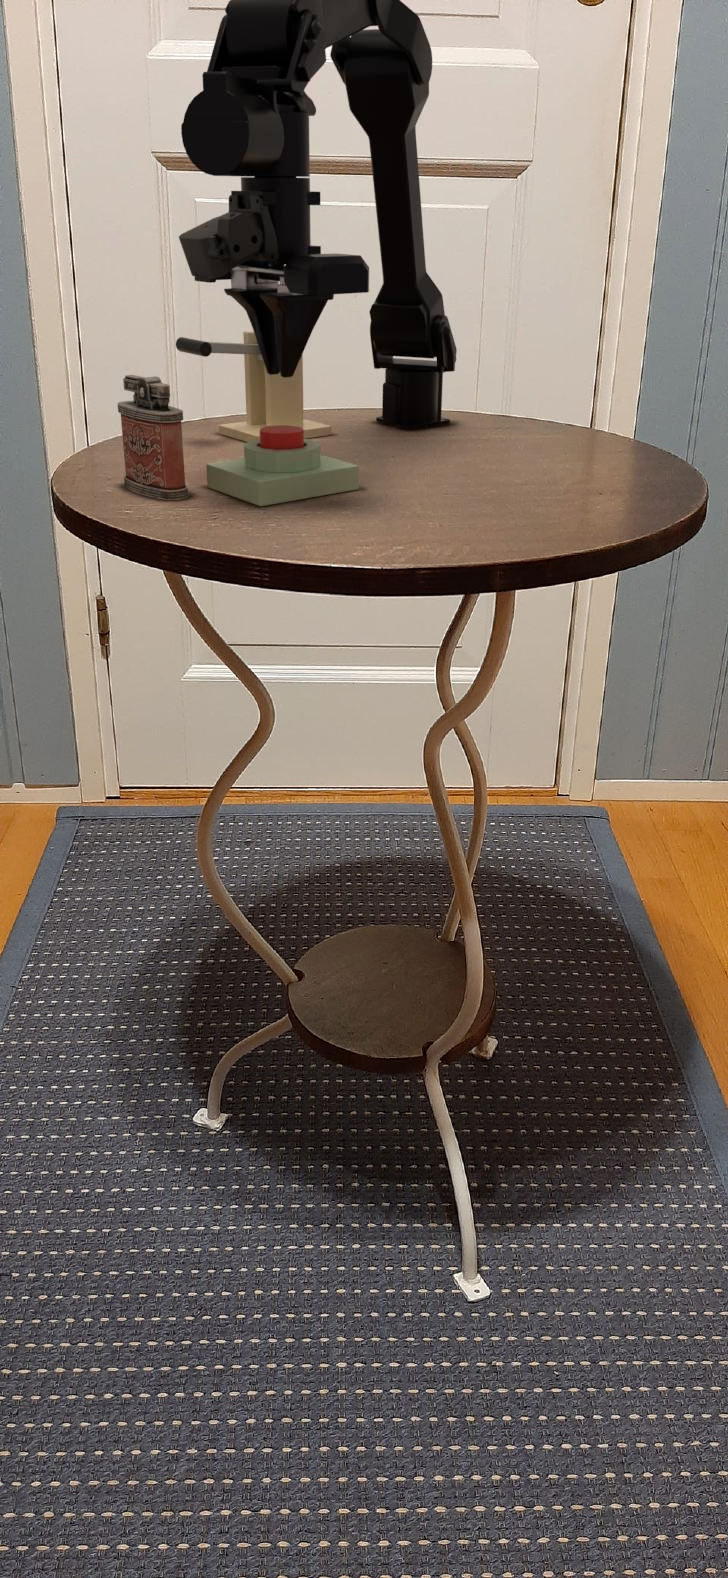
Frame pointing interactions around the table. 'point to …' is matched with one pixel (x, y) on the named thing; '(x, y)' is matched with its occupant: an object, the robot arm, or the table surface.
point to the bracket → (271, 401)
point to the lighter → (152, 440)
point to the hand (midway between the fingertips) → (280, 375)
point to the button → (281, 437)
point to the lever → (216, 348)
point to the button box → (281, 474)
